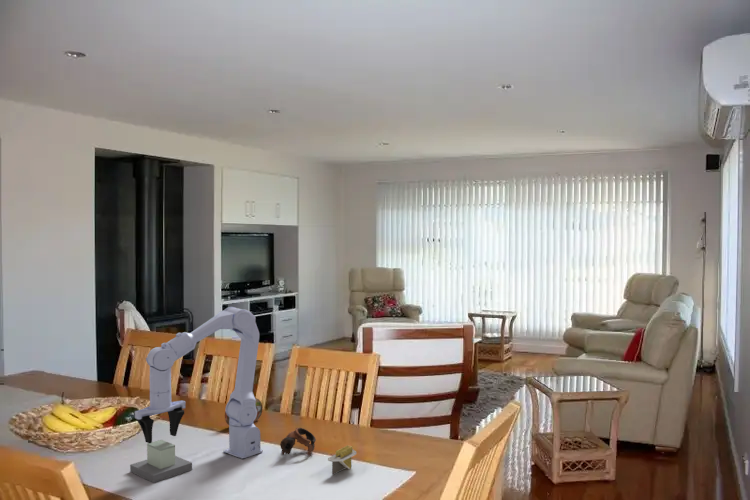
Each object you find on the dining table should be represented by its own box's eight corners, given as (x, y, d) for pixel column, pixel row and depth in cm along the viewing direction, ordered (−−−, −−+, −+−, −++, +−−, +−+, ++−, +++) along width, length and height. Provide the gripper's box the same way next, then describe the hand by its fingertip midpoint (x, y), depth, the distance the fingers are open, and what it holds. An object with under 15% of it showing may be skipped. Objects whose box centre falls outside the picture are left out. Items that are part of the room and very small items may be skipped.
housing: (161, 458, 179) (161, 439, 179) (175, 464, 175) (175, 445, 174) (147, 462, 176) (147, 443, 176) (160, 469, 171) (160, 449, 171)
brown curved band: (291, 446, 196) (304, 424, 196) (310, 465, 191) (324, 443, 191) (267, 448, 186) (281, 424, 186) (287, 468, 181) (301, 444, 181)
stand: (192, 469, 176) (192, 462, 176) (153, 482, 167) (153, 475, 167) (168, 459, 184) (168, 453, 184) (130, 471, 174) (130, 464, 174)
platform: (378, 466, 179) (379, 444, 179) (341, 488, 164) (341, 463, 164) (345, 458, 186) (345, 436, 186) (306, 478, 171) (306, 454, 171)
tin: (229, 430, 211) (228, 405, 211) (223, 428, 213) (223, 403, 213) (263, 419, 223) (263, 396, 223) (257, 417, 225) (257, 394, 225)
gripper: (175, 383, 183) (176, 429, 183) (128, 393, 172) (129, 442, 172) (189, 387, 178) (189, 434, 178) (142, 397, 167) (142, 448, 167)
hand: (161, 438), depth 175 cm, fingers open, 7 cm apart
